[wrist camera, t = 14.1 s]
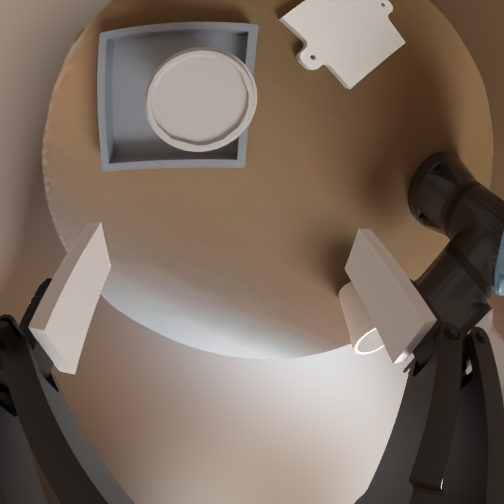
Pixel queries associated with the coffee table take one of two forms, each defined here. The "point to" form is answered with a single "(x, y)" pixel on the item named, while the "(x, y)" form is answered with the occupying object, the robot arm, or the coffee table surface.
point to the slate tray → (135, 83)
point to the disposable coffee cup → (200, 99)
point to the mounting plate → (344, 36)
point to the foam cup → (359, 321)
